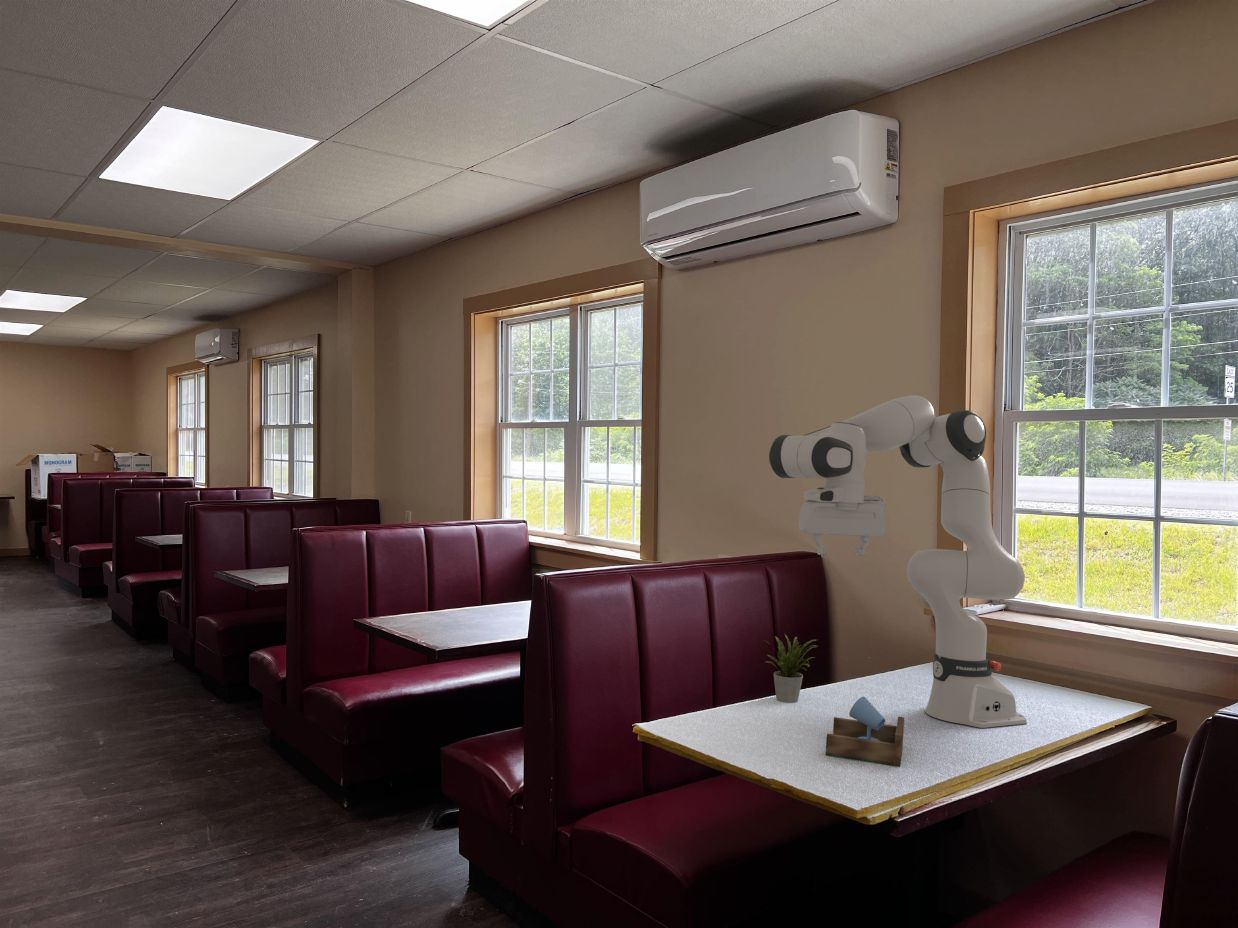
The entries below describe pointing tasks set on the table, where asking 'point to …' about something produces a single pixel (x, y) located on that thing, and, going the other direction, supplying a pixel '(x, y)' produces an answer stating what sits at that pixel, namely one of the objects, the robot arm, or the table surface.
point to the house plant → (789, 671)
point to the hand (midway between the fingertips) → (840, 555)
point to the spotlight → (867, 716)
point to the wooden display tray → (866, 742)
